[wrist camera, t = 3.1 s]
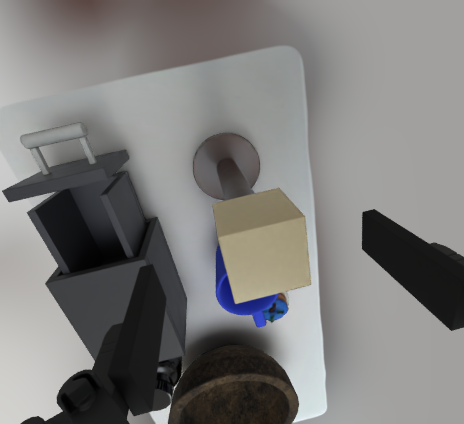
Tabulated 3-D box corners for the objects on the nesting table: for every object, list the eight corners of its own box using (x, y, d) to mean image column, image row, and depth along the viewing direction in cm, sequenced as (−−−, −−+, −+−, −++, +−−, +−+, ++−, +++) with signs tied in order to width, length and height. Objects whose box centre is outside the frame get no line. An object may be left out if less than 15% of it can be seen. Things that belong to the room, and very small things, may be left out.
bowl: (183, 405, 56) (181, 465, 47) (161, 333, 47) (153, 390, 38) (282, 385, 58) (299, 440, 49) (280, 312, 49) (299, 361, 40)
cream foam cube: (212, 203, 19) (217, 237, 14) (279, 187, 19) (305, 215, 15) (226, 259, 21) (235, 304, 16) (286, 244, 21) (311, 285, 17)
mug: (227, 293, 45) (235, 342, 36) (204, 235, 40) (206, 276, 31) (272, 277, 45) (292, 323, 36) (255, 218, 40) (272, 254, 31)
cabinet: (83, 234, 38) (44, 283, 28) (157, 216, 38) (144, 259, 28) (124, 314, 44) (104, 376, 35) (187, 298, 45) (184, 355, 35)
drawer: (31, 132, 31) (-27, 146, 23) (112, 114, 31) (84, 121, 23) (98, 262, 39) (72, 306, 31) (162, 246, 39) (153, 286, 31)
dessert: (290, 281, 45) (296, 318, 42) (283, 290, 51) (289, 323, 48) (243, 284, 45) (247, 321, 42) (242, 293, 51) (245, 326, 48)
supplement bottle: (178, 311, 46) (173, 379, 35) (188, 338, 49) (186, 409, 38) (139, 320, 45) (121, 392, 34) (151, 347, 48) (138, 421, 37)
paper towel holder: (214, 119, 34) (233, 142, 17) (270, 154, 36) (331, 203, 20) (181, 178, 36) (170, 246, 20) (236, 207, 39) (265, 288, 23)
